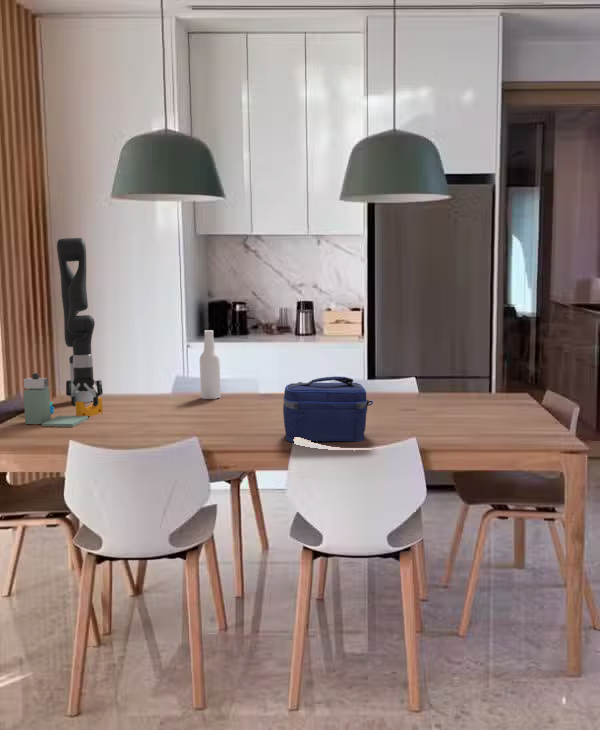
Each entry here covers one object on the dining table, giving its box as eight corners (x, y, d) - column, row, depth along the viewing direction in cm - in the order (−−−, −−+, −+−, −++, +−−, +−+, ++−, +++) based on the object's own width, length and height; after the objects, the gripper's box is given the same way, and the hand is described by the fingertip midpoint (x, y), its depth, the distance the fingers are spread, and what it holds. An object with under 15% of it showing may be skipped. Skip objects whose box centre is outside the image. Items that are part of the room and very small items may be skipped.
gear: (43, 412, 317) (29, 394, 320) (34, 422, 319) (20, 404, 321) (61, 411, 327) (47, 393, 330) (52, 421, 329) (39, 403, 332)
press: (39, 418, 315) (37, 385, 313) (88, 418, 312) (86, 385, 310) (21, 426, 300) (19, 392, 298) (73, 427, 298) (71, 392, 296)
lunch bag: (368, 428, 288) (368, 372, 285) (377, 441, 267) (377, 381, 264) (282, 430, 286) (281, 374, 283) (285, 444, 265) (284, 383, 262)
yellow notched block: (94, 412, 326) (93, 396, 325) (102, 413, 324) (101, 397, 323) (73, 418, 315) (72, 401, 314) (81, 418, 313) (80, 402, 312)
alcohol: (197, 399, 351) (194, 331, 347) (207, 395, 359) (205, 329, 355) (214, 400, 348) (212, 331, 344) (224, 397, 356) (222, 329, 352)
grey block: (28, 386, 307) (27, 372, 307) (48, 386, 306) (47, 372, 306) (24, 388, 304) (23, 374, 303) (44, 388, 303) (43, 374, 302)
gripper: (103, 364, 320) (105, 404, 322) (69, 364, 322) (71, 404, 324) (96, 366, 313) (98, 407, 315) (61, 367, 314) (64, 407, 316)
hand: (85, 406), depth 319 cm, fingers open, 8 cm apart
